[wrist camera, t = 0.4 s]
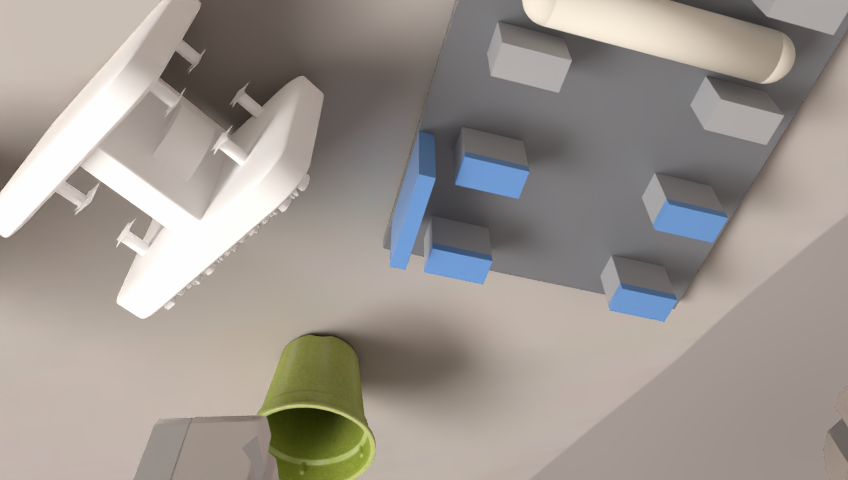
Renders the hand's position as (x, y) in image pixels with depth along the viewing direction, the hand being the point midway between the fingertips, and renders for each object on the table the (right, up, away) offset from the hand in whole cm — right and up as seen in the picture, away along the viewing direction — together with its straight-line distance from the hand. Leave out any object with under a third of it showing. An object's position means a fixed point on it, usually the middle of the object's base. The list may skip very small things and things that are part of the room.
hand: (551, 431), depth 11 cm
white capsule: (+11, +14, +32) cm, 37 cm away
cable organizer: (-16, +11, +38) cm, 43 cm away
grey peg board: (+9, +11, +38) cm, 41 cm away
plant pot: (-10, -7, +52) cm, 53 cm away
